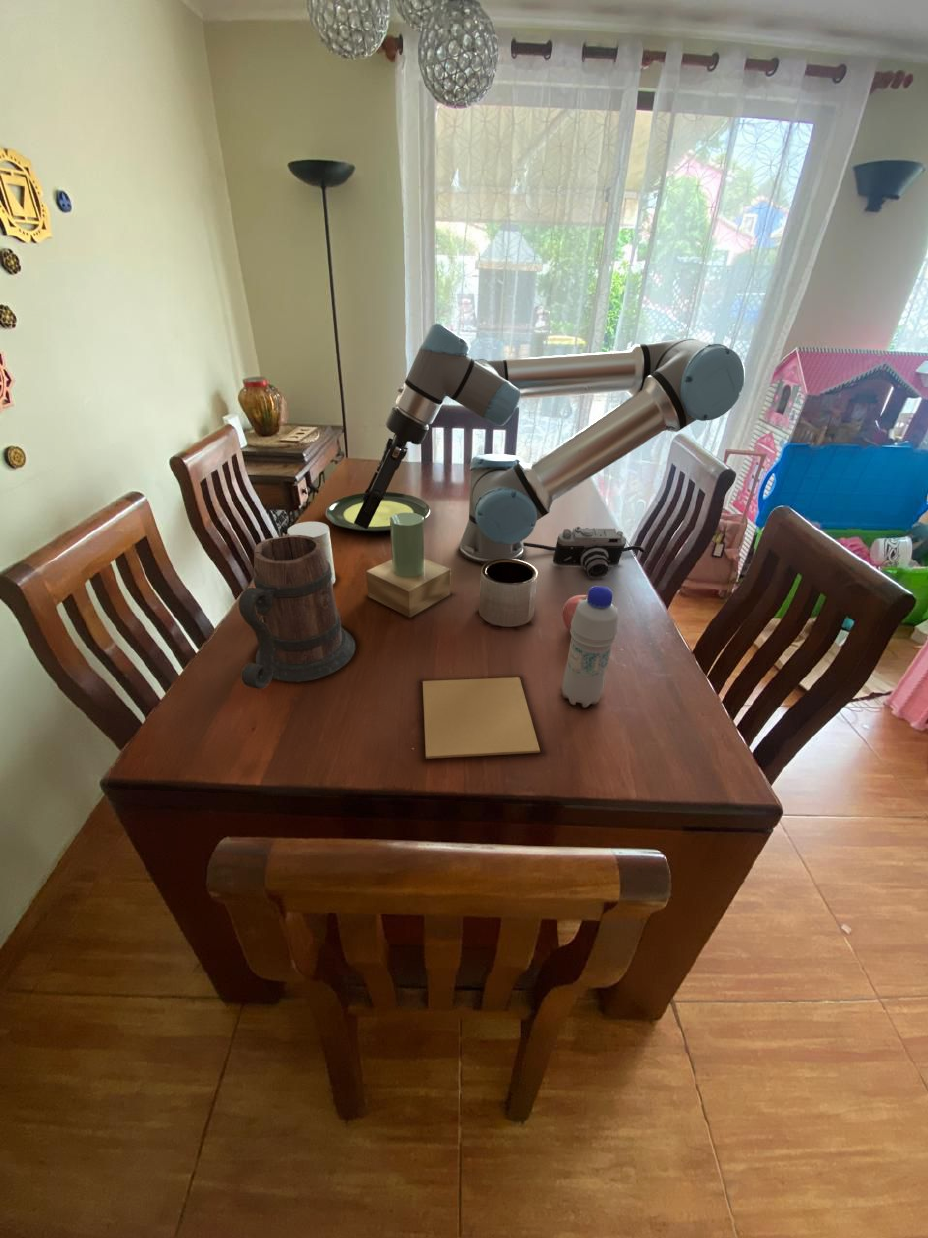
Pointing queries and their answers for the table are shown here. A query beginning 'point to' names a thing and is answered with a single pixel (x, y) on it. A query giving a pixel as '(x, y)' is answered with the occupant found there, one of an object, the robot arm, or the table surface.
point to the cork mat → (477, 718)
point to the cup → (319, 533)
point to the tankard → (293, 613)
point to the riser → (408, 587)
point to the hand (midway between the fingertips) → (364, 513)
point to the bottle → (590, 647)
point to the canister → (407, 544)
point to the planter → (507, 592)
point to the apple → (571, 609)
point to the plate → (392, 504)
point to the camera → (590, 549)
